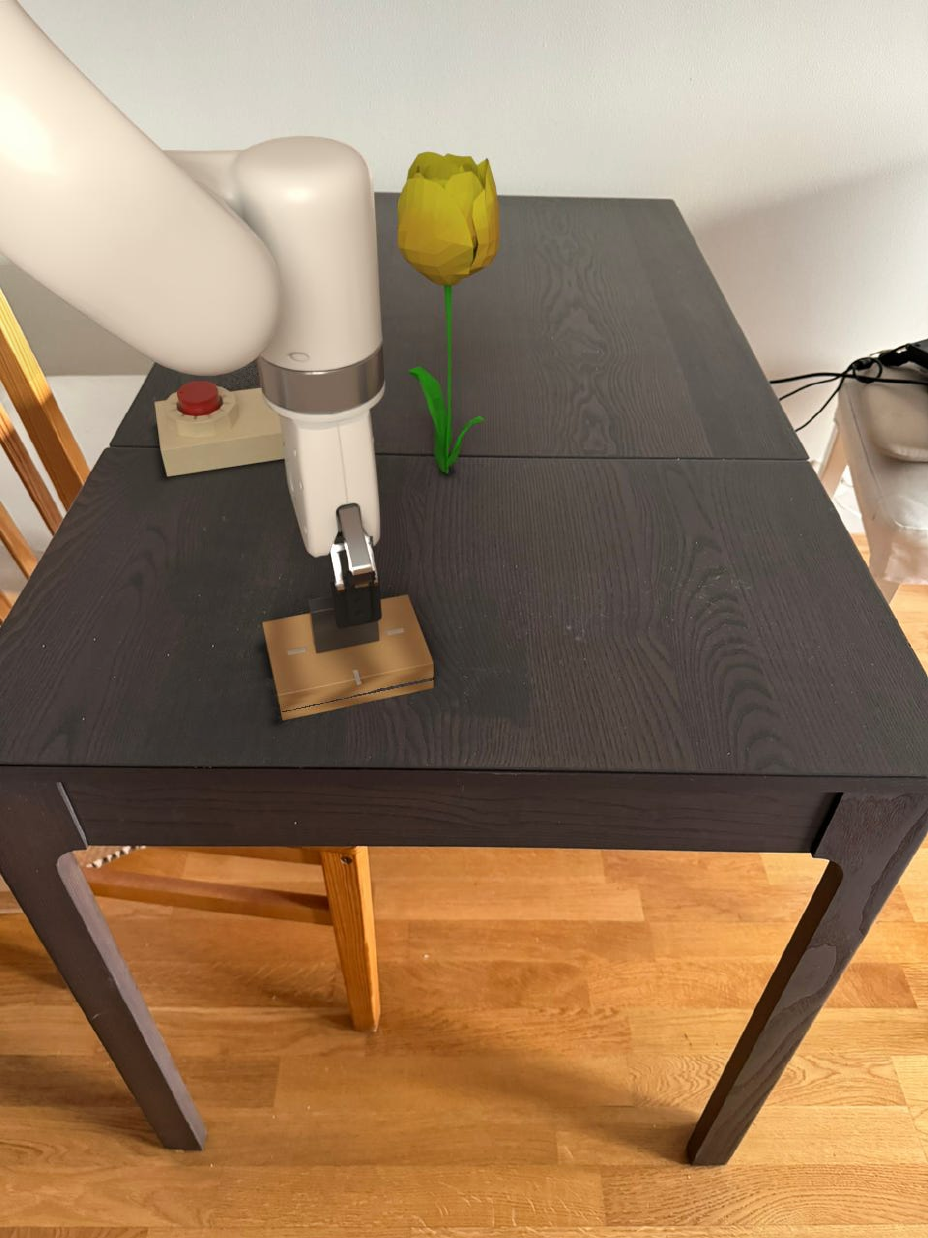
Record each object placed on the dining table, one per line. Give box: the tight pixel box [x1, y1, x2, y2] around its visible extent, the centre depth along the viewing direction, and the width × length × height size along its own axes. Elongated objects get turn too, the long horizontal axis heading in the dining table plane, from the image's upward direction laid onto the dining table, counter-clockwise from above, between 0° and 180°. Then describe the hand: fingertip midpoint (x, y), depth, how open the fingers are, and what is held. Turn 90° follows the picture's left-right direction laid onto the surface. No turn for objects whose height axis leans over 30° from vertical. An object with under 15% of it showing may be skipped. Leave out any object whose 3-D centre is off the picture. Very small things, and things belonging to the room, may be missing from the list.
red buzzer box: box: [154, 385, 285, 477], centre depth 95 cm, size 12×9×5 cm
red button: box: [176, 380, 221, 416], centre depth 92 cm, size 4×4×2 cm
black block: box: [307, 595, 379, 654], centre depth 71 cm, size 5×1×5 cm, turn 107°
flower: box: [396, 151, 501, 474], centre depth 83 cm, size 9×8×30 cm
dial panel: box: [261, 594, 435, 721], centre depth 74 cm, size 12×9×3 cm
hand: (344, 576), depth 68 cm, fingers open, 9 cm apart
